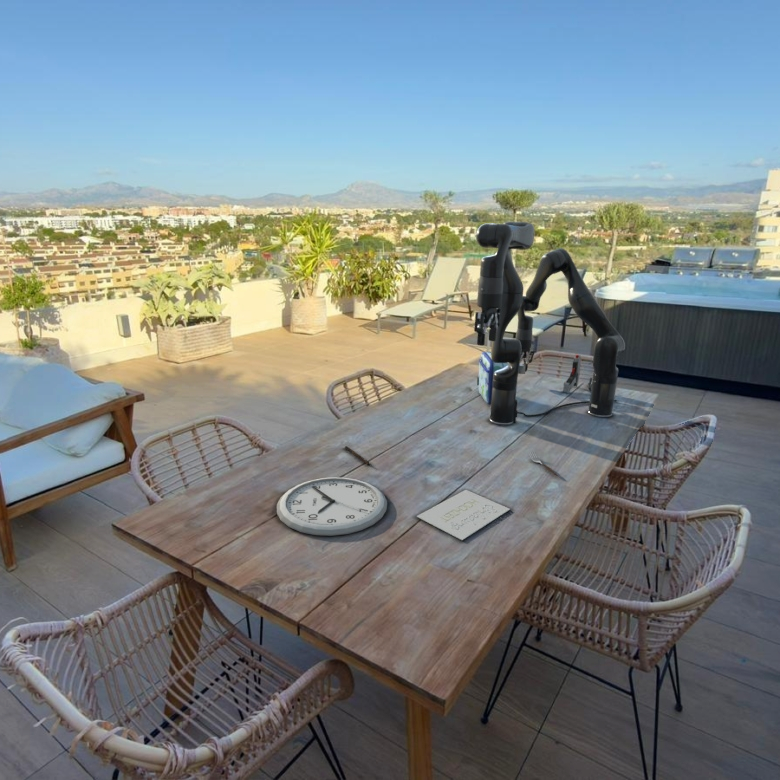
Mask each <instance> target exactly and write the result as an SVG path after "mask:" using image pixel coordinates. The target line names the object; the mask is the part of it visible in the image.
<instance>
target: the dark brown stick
mask: <svg viewBox="0 0 780 780" xmlns="http://www.w3.org/2000/svg"><path fill="white" fill-rule="evenodd" d="M344 449H345V450H346V451H348V452H349V453H350V454H352V455H353V456H355V457H356V458H358V459H359V460H361V461H362V462H363V463H364V464H366V465H370V461H368V460H367V459H366V458H364V457H363V456H361V455H360V454H358V453H357V452H356V451H354V450H353V449H352V448H350V447H348V446H347V445H345V446H344Z"/></svg>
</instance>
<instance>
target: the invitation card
mask: <svg viewBox="0 0 780 780" xmlns="http://www.w3.org/2000/svg"><path fill="white" fill-rule="evenodd" d="M510 510H511V508H509V507H507V506H504V505H503V504H500V503H498V502H496V501H493V500H492V499H491V500H490V499H488V498H487V497H484V496H481V495H479V494H477V493H474V492H472V491H470V490H468V489H464V490H462V491H460V492H458V493H456V494H455V495H453V496H451V497H449V498H447V499H446V500H443V501H441V502H440V503H438V504H437V505H434V506H433V507H430V508H429V509H427V510H425V511H423V512H422V513H420V514H418V515H416V518H418V519H420V520H421V521H423V522H426V523H427V524H428V525H429V524H430V525H431V526H433V527H435V528H437V529H439V530H440V531H442V532H445V533H446V534H448V535H450V536H453V537H454V538H456V539H457V540H460V541H463V540H465V539H467V538H468V537H470V536H472V535H473V534H474V533H476V532H478V531H480V530H481V529H482V528H484V527H485V526H487V525H488V524H490V523H492V522H493V521H495V520H496V519H498V518H499V517H501V516H503V515H504V514H506V513H507V512H509V511H510Z"/></svg>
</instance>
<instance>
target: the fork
mask: <svg viewBox="0 0 780 780" xmlns="http://www.w3.org/2000/svg"><path fill="white" fill-rule="evenodd" d="M528 454H529V457H530V458H531V460H532V462H534V463H538V464H541V466H543V468H544V469H546V471H548V472H550V473H552V475H554V476H555V477H559V475H558V474H557V473H556V472H555V471H554V470H553V469H552V468H551V467H549V466H548V465H546V464H545V463H543V462H542V460H541V459H540V458H539V456H538V454H537V452H536V451H528Z"/></svg>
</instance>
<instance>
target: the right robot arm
mask: <svg viewBox="0 0 780 780" xmlns="http://www.w3.org/2000/svg"><path fill="white" fill-rule="evenodd" d="M560 272H561V273H562V274H563V277H564V278H565V280H566V281H567V299H568V303H569V305H570V307H571V308H572V310H573V311H574V313H575V314H576V316H577V317H578V318H579V319H580V320H581V321H582V322H583V323H585V324H586V325H587V326H588V327H590V329H591V330H593V332H594V333H595V336H597V338H598V339H597V340H596V342H595V345H594V348H593V356H592V357H593V358H592V367H593V375H592V377H589V382H588V384H587V388H588V390H589V392H590V397H589V401H590V402H589V403H588V410H587V413H588V414H589V415H591V416H593V417H597V418H611V417H612V416H613V409H614V404H615V402H614V400H615V398H616V397H615V396H616V389H617V384H618V376H619V368H618V367H617V359H618V358H617V357H619V356H621V355H622V354H623V353H624V352H625V350H626V343H625V340H624V338H623V337H622V336H621V334H620V333H619V331H618V330H617V329H616V328H615V327H614V326H613V324H612V323H611V321H610V320H609V319H608V317H607V315H606V314H605V312H604V311H603V310H602V309H603V308H601V306H600V304H599V303H598V301H597V299H596V298H595V296H594V295H593V293H592V292H591V290H590V289H589V287H588V286H587V283H585V281H584V280H583V277H582V276H581V274H580V273H579V271H578V269H577V267H576V265H575V263H574V260H573V259H572V257H571V255H570V253H569V252H568V251H567V250H566V249H565V248H562V247H561V248H557V249H554V250H551V251H549V252H547V253H545V254H543V255H542V257H541V258H540V260H539V263H538V266H537V269H536V272H535V274H534V277H533V279H532V281H531V283H530V285H529V286H528V288H527V290H526V291H525V295H523V299H522V305H521V308H520V309H519V311H518V312H517V314H516V315H517V329H516V335H515V339H518V340H519V341H520V342H521V347H522V350H521V359H520V362H521V361H523V364H525V365H526V369H525V373H526V372H527V371H528V367H529V364H530V363H532V362H533V359H534V357H535V351H534V350H532V341H533V326H534V318H533V317H532V316H531V315H526V313H525V312H534V311H536V310H538V308H539V307H540V301H541V298H542V296H543V295H544V293H545V292H546V289H547V286H548V284H547V281H548V279H549V278H550V277H551V276H552V275H555V274H558V273H560Z"/></svg>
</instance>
